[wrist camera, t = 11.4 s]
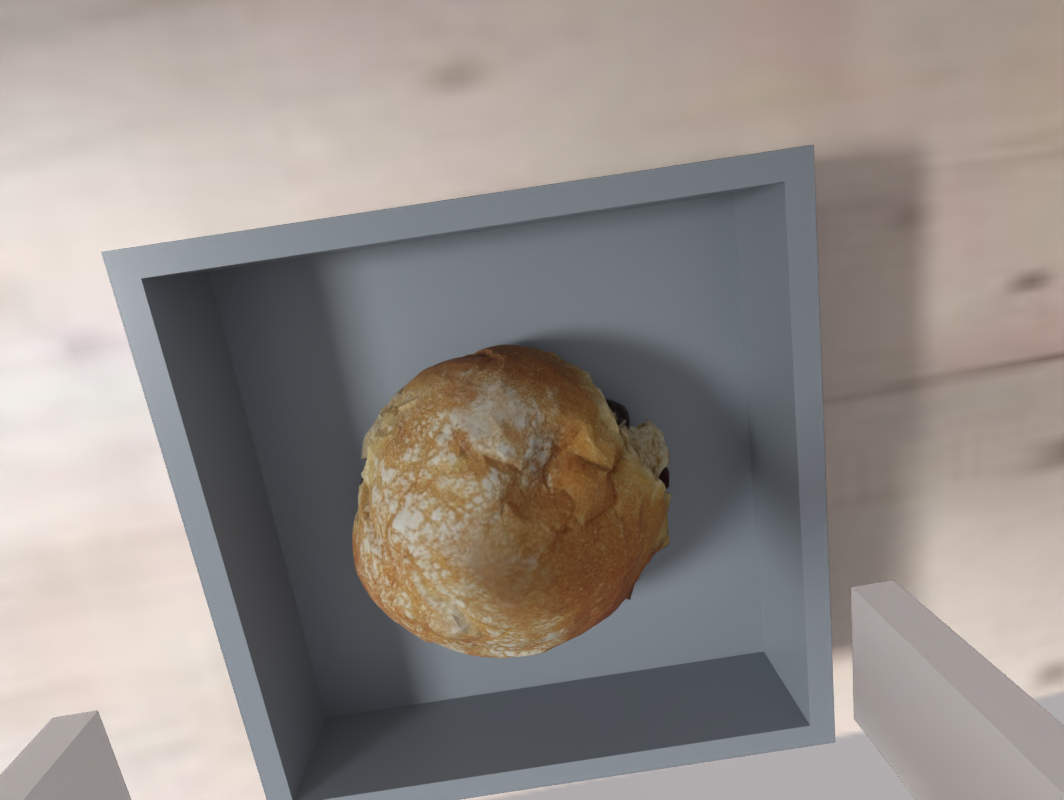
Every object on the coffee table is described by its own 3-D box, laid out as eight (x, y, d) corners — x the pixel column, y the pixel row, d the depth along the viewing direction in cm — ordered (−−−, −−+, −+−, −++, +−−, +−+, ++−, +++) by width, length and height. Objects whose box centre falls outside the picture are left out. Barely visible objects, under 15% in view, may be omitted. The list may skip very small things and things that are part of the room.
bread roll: (436, 319, 25) (281, 340, 17) (706, 358, 21) (651, 405, 14) (424, 554, 27) (283, 657, 20) (665, 627, 23) (600, 787, 16)
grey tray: (314, 727, 25) (275, 827, 21) (186, 250, 21) (101, 251, 17) (779, 656, 25) (835, 742, 21) (749, 165, 21) (813, 144, 17)
